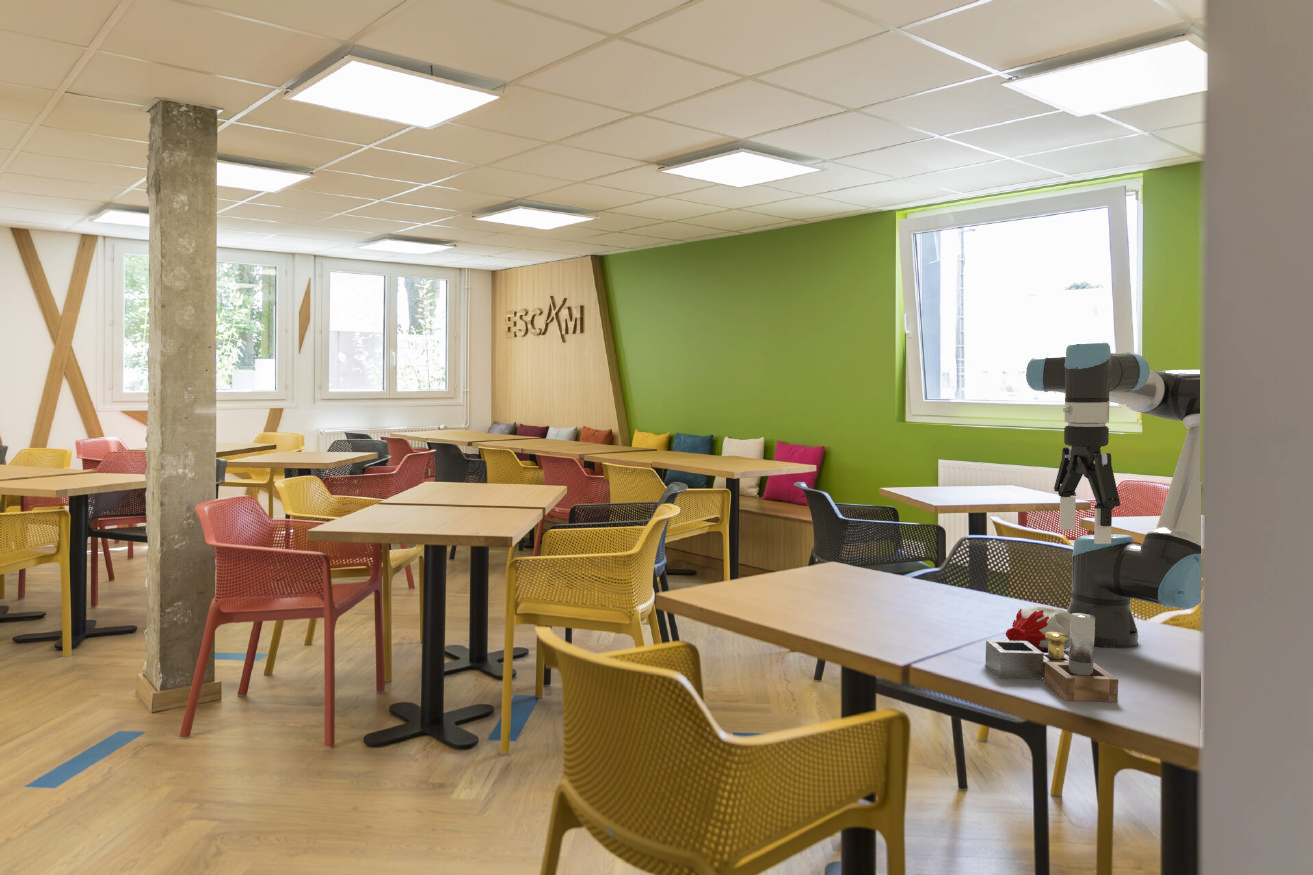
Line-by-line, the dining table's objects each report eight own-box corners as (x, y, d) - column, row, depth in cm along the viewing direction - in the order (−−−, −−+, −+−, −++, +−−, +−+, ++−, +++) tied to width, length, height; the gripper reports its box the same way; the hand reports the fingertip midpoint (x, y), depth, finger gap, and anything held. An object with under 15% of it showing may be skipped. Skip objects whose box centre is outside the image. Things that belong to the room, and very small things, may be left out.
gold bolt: (1061, 667, 167) (1062, 632, 167) (1070, 673, 163) (1071, 637, 163) (1040, 666, 167) (1041, 631, 167) (1049, 673, 163) (1050, 637, 163)
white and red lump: (1085, 648, 180) (1037, 666, 173) (1039, 634, 190) (992, 650, 183) (1084, 607, 178) (1035, 624, 172) (1038, 595, 188) (990, 610, 182)
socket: (1061, 666, 169) (1063, 641, 169) (1080, 680, 161) (1081, 654, 161) (985, 664, 170) (986, 639, 169) (999, 678, 162) (1000, 652, 161)
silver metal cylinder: (1085, 688, 157) (1088, 613, 156) (1096, 696, 153) (1099, 619, 152) (1063, 687, 157) (1066, 612, 156) (1073, 695, 153) (1076, 618, 152)
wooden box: (1093, 684, 159) (1094, 663, 159) (1117, 701, 150) (1118, 679, 150) (1044, 682, 159) (1045, 661, 159) (1065, 700, 150) (1066, 677, 150)
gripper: (1037, 421, 173) (1035, 524, 174) (1100, 429, 148) (1097, 550, 149) (1074, 420, 173) (1072, 524, 174) (1143, 428, 148) (1140, 549, 149)
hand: (1084, 536), depth 162 cm, fingers open, 13 cm apart
